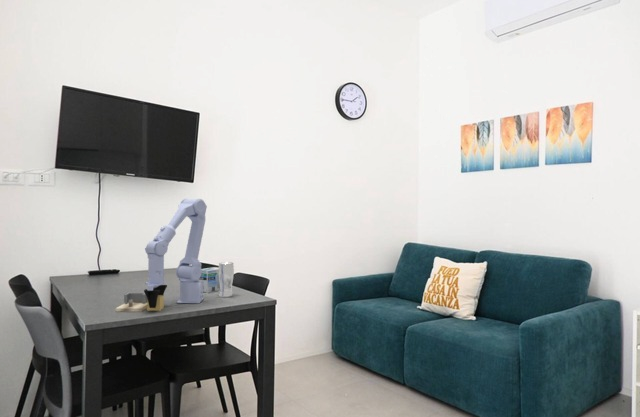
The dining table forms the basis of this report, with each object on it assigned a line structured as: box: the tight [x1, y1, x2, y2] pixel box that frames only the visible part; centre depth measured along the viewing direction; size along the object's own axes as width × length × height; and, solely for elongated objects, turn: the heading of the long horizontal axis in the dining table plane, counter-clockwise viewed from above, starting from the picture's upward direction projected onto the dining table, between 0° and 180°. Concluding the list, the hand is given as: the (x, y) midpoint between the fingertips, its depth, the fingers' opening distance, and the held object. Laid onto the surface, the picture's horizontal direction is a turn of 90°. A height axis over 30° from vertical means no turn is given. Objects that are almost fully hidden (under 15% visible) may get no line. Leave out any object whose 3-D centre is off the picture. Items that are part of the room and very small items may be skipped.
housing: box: [123, 291, 147, 304], centre depth 178 cm, size 9×5×4 cm, turn 94°
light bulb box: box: [199, 266, 220, 294], centre depth 213 cm, size 11×7×11 cm, turn 147°
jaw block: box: [146, 295, 165, 312], centre depth 173 cm, size 5×5×5 cm
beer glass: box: [217, 261, 235, 298], centre depth 200 cm, size 7×7×15 cm
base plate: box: [114, 300, 147, 313], centre depth 175 cm, size 10×13×4 cm
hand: (155, 305), depth 173 cm, fingers open, 7 cm apart
